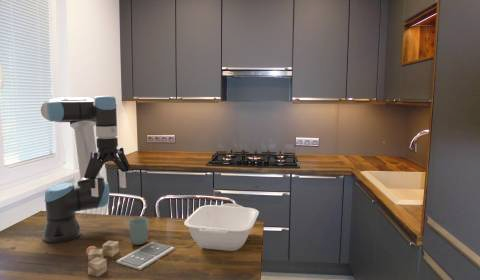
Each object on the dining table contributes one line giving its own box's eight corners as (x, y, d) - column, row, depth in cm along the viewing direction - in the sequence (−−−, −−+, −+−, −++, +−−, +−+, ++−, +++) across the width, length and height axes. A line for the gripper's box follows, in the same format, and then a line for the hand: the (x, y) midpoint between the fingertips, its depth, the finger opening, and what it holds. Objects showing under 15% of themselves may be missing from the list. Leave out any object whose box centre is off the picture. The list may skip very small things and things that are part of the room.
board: (116, 262, 137) (116, 259, 137) (152, 243, 154) (152, 240, 154) (140, 270, 131) (139, 266, 131) (174, 249, 149) (174, 246, 149)
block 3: (102, 255, 143) (102, 245, 142) (109, 250, 147) (108, 240, 147) (112, 256, 142) (112, 246, 141) (118, 252, 146) (118, 241, 146)
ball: (84, 256, 142) (83, 247, 141) (92, 252, 145) (92, 243, 145) (91, 258, 140) (90, 249, 139) (99, 254, 143) (99, 245, 143)
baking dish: (203, 226, 174) (203, 201, 172) (261, 231, 168) (261, 205, 166) (177, 258, 141) (176, 227, 139) (248, 265, 135) (248, 233, 133)
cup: (143, 247, 150) (142, 225, 149) (126, 246, 152) (125, 223, 150) (151, 240, 158) (151, 218, 156) (135, 238, 159) (134, 217, 158)
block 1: (88, 266, 135) (88, 254, 134) (91, 260, 139) (90, 249, 138) (101, 264, 135) (100, 253, 135) (103, 259, 140) (102, 248, 139)
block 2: (96, 257, 132) (97, 268, 133) (87, 262, 128) (88, 274, 128) (106, 259, 130) (107, 270, 131) (97, 264, 126) (98, 276, 127)
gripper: (85, 142, 122) (89, 201, 125) (138, 134, 144) (139, 185, 147) (71, 140, 126) (74, 198, 129) (124, 133, 148) (126, 183, 151)
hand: (109, 191), depth 138 cm, fingers open, 13 cm apart
